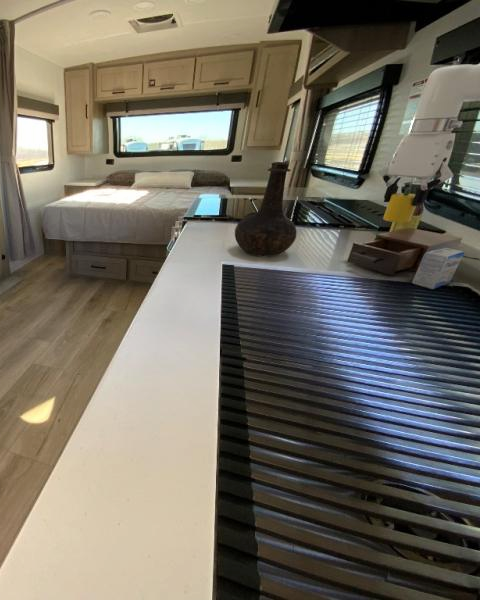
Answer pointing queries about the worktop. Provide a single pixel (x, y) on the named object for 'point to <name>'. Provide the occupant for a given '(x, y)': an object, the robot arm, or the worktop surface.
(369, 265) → the drawer
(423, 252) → the cabinet
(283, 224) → the glass bottle
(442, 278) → the medicine box
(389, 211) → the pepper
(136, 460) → the worktop surface
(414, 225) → the sauce bottle
